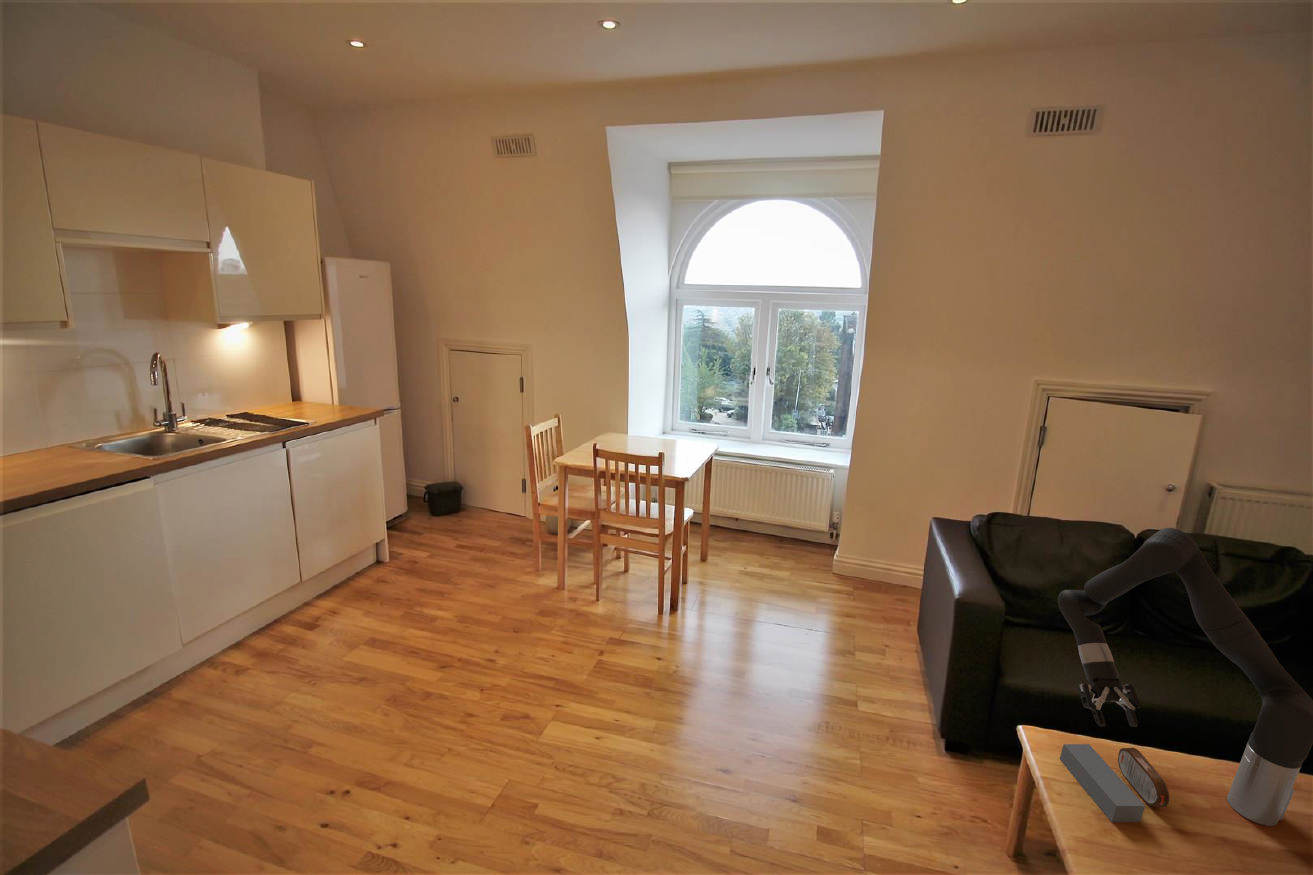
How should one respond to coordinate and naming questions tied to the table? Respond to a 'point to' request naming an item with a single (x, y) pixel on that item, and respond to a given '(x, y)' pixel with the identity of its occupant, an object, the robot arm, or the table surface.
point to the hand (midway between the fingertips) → (1118, 726)
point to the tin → (1143, 777)
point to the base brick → (1102, 783)
